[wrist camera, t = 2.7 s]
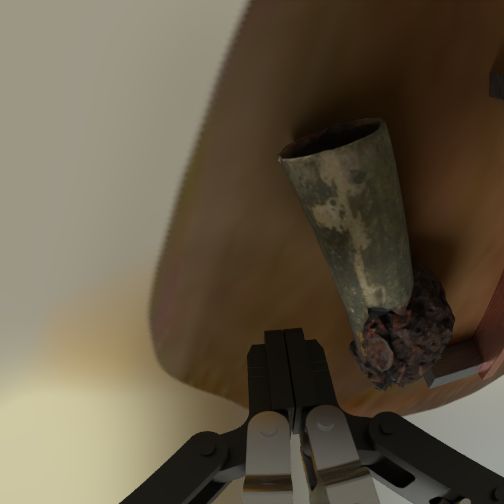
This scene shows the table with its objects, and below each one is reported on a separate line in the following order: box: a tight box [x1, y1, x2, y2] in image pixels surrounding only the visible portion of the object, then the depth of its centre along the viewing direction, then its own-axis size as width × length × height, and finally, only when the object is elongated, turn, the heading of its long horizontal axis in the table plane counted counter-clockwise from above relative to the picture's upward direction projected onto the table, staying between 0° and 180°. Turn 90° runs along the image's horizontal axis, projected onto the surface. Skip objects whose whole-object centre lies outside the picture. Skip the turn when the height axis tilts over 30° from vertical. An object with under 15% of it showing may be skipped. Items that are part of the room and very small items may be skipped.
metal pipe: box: [278, 118, 455, 391], centre depth 15 cm, size 18×7×6 cm, turn 24°
